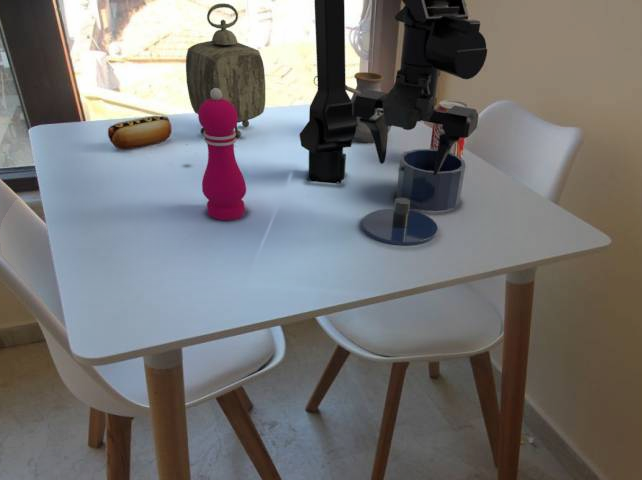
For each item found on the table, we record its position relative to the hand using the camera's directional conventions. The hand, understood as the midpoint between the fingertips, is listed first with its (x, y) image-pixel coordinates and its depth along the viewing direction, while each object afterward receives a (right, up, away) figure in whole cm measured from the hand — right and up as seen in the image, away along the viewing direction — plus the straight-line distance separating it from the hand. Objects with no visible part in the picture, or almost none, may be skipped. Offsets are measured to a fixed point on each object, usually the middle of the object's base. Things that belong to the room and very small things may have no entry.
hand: (408, 168), depth 98 cm
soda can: (+10, +12, +32) cm, 36 cm away
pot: (+5, 0, +17) cm, 17 cm away
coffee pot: (-11, +20, +39) cm, 45 cm away
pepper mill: (-31, -5, +7) cm, 32 cm away
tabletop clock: (-37, +20, +37) cm, 56 cm away
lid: (-1, -8, +6) cm, 10 cm away
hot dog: (-53, +15, +29) cm, 62 cm away
